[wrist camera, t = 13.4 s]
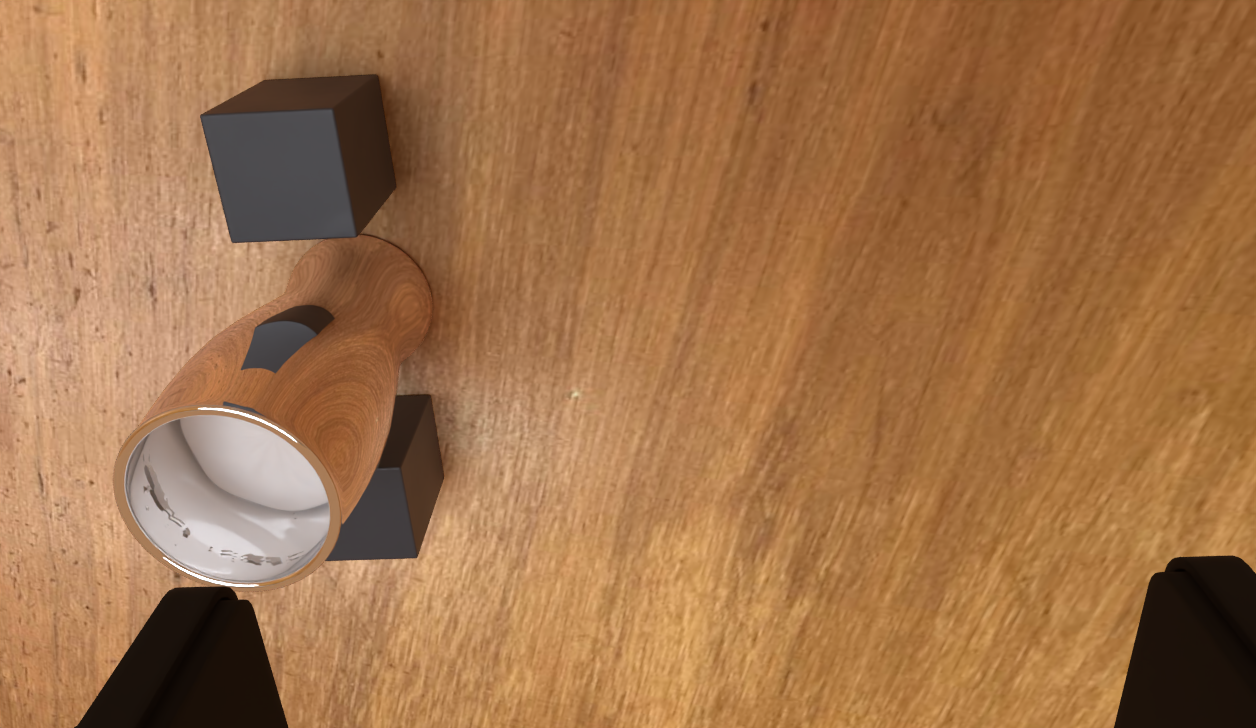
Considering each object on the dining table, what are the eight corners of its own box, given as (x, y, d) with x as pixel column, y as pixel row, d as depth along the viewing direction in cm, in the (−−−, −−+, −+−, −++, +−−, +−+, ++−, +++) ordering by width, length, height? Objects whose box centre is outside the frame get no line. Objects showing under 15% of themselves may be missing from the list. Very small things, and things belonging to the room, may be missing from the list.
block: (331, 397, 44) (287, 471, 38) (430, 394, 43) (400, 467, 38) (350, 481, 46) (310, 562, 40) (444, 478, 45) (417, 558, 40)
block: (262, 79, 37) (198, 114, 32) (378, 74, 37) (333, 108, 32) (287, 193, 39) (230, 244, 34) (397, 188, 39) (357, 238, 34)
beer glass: (254, 321, 42) (71, 531, 29) (323, 190, 39) (155, 355, 26) (398, 399, 44) (288, 632, 30) (473, 279, 41) (388, 476, 28)
